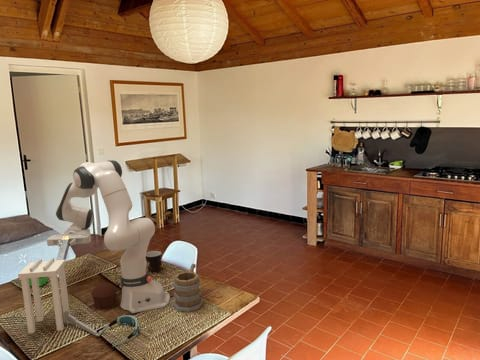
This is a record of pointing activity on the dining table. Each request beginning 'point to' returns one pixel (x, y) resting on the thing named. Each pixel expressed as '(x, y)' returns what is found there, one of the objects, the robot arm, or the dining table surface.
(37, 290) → the pin stand
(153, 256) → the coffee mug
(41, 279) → the fruit basket
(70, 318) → the caliper
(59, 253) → the pin
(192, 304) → the tankard
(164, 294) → the robot arm
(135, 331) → the sunglasses
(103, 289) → the muffin
